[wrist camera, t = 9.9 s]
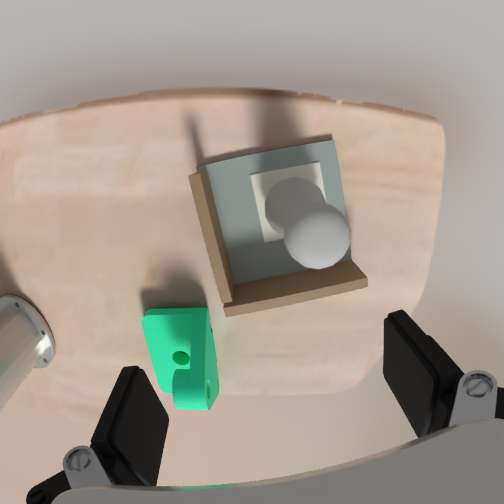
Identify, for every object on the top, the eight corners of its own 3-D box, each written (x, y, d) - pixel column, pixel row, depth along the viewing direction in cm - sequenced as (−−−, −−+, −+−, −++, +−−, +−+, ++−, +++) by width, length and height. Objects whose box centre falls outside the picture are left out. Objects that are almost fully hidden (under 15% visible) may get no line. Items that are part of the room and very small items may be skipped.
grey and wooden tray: (228, 291, 35) (225, 317, 29) (197, 166, 30) (187, 170, 25) (350, 266, 34) (367, 286, 29) (332, 140, 30) (349, 138, 24)
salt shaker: (277, 165, 30) (299, 176, 17) (329, 189, 31) (381, 216, 18) (254, 219, 31) (259, 265, 19) (305, 240, 32) (339, 296, 20)
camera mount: (146, 304, 35) (117, 355, 26) (208, 302, 35) (197, 357, 26) (165, 380, 39) (148, 435, 29) (220, 380, 39) (214, 439, 29)
